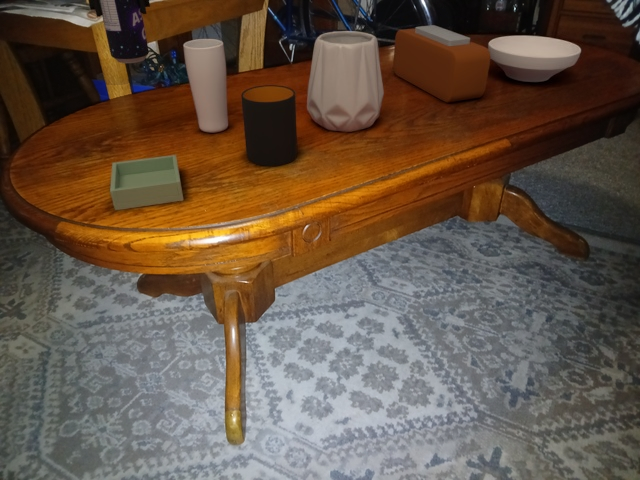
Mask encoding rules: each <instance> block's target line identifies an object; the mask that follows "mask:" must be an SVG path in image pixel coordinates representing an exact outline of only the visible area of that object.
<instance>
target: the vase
mask: <svg viewBox="0 0 640 480" xmlns="http://www.w3.org/2000/svg"><path fill="white" fill-rule="evenodd" d="M379 51H380V50H379V42H378V39H377V37H376V36H375V35H374V34H371V33H368V32H362V31H355V30H342V31H341V30H340V31H337V30H336V31H335V30H334V31H329V32H325V33H322V34H320V35H319V36H317V38H316V39H315V41H314V45H313V51H312V59H311V64H310V73H309V77H308V83H307V91H306V92H307V94H306V96H307V97H306V109H307V112H308V114H309V115H310V118H311V119H312V120H313V122H315V124H317V125H319V126H321V127H322V128H324V129H325V130H327V131H333V132H344V133H345V132H346V133H352V132H357V131H360V130H364V129H368V128H370V127H372V125H374V123H375V122H376V120H377V119H379V117H380V113H381V107H382V104H383V100H384V95H385V90H384V85H383V83H384V82H383V76H382V70H381V60H380V52H379Z"/></svg>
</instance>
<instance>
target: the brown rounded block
mask: <svg viewBox="0 0 640 480" xmlns="http://www.w3.org/2000/svg"><path fill="white" fill-rule="evenodd" d="M393 49H394V50H393V63H392V64H393V65H392V67H393V68H392V69H393V72H394V74H395V75H396V76H397V77H399V78H401V79H402V80H404V81H406V82H408V83H410V84H411V85H413V86H415V87H416V88H419V89H420V90H423V91H424V92H425V93H428V94H430V95H431V96H433V97H435V98H437V99H438V100H441V101H442V102H444V103H447V104H449V103H454V102H455V103H456V102H460V101H467V100H473V99H479V98H482V96H483V95H484V94H485V92H486V87H487V81H488V75H489V71H490V65H491V58H490V57H491V56H490V52H489V50H488V47H486V46H483V45H481V44H477V43H475V42H472V41H471V37H468V36H465V35H463V34H460V33H457V32H454V31H452V30H448V29H446V28H443V27H440V26H437V25H434V24H431V25H421V26H416V27H414V28H407V29H405V28H404V29H399V30H397V32H396V33H395V38H394V48H393Z"/></svg>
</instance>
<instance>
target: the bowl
mask: <svg viewBox="0 0 640 480" xmlns="http://www.w3.org/2000/svg"><path fill="white" fill-rule="evenodd" d="M487 44H488V45H487V49H488V50H489V52H490V56H491V57H490V60H492V61H493V62H494V63H495V64H496V65H497V66H498V67H499V68H500V69H501V70H502V71H503V72H504V74H505V76H506V77H507V78H510V79H512V80H514V81H515V80H516V81H520V82H529V83H540V82H545V81H548V80H550V78H551V77H553V76H554V75H556V74H559V73H560V72H563V71H565V70H566V69H567V68H570V67H572V66H575V65H576V64H577V62H578V60H579V58H580V56H581V53H582V48H581V47H580V46H579V45H577V44H576V43H574V42H570V41H568V40H563V39H559V38H554V37H547V36H540V35H506V36H500V37H495V38H493V39H491V40H490V41H489V42H488V43H487Z"/></svg>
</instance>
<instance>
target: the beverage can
mask: <svg viewBox="0 0 640 480" xmlns="http://www.w3.org/2000/svg"><path fill="white" fill-rule="evenodd" d="M99 3H100V8H101V12H102V16H101V17H102V22H103V25H104V30H105V31H104V32H105V34H106V39H107V44H108V48H109V53H110V56H111V58H113V59H114V60H116V61H117V62H118V63H120V64H136V63H140V62H144V61H145V60H146V58H147V56H148V55H149V53H150V51H149V44H148V39H147V33H146V28H145V23H144V17H143V13H141V8H140V2H139V0H99Z"/></svg>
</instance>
